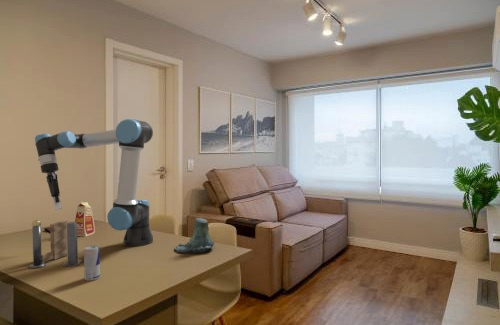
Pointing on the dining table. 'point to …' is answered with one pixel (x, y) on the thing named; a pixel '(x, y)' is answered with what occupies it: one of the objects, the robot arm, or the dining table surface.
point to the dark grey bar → (72, 245)
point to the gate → (57, 241)
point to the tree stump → (197, 239)
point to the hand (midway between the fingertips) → (58, 209)
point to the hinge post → (37, 245)
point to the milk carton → (84, 220)
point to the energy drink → (91, 263)
